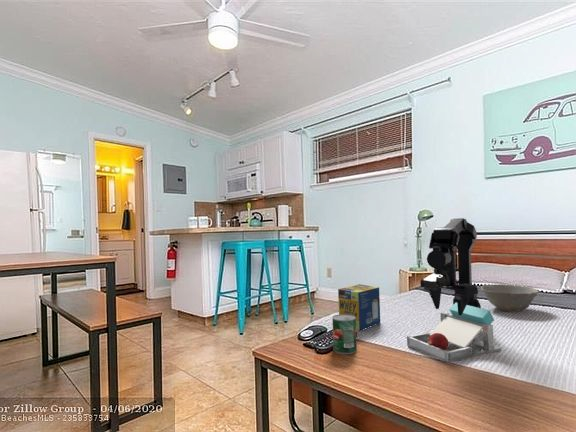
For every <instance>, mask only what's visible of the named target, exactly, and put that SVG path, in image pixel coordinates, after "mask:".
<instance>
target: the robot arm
mask: <svg viewBox="0 0 576 432" xmlns="http://www.w3.org/2000/svg"><path fill="white" fill-rule="evenodd" d="M477 234H478V233H477V230H476V228H475V225H473V224H472V223H470V222H468V220H467V219H466V218H460V217H459V218H458V217H457V218H452V219H450V222H448V223H447V224H445V226H443V227H436V228H434V229H433V230H432V232H431V236H430V239H429V240H430V241H429V245H428V248H429V249H432V250H431V251H430V252H429V253H428V254H427V257H426V262H427V264H428V266H429V267H431V268H432V269H433V273H432V274H429V275H428V276H426V277H425V278H421V280H420V283H419V284H420V288H423V290H424V291H426V292H427V293H428V294H429V297H430V298H431V300H432V304H433V305H434V308H435V310H439V309H440V305H441V297H442V289H446V290H450V291H451V290H452V291H454V295H453V296H454V297H453V299H452V306H453V305H454V304H455V303H457V306H458V314H459V315H462V314H463V312H464V309H465V307H466V305H469V306H473V307H477V308H482V306H481V303H480V301H479V299H478V294H479V290H478V289H479V288H478V287H477V285H476V284H473V282H472V281H473V280H472V279H473V278H472V276H473V275H472V249H473V248H474V246H475V244H476V240H477ZM456 249H457V258H458V260H457V265H458V267H457V266H456V252H455V251H456ZM457 272H458V280H457Z"/></svg>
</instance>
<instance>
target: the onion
mask: <svg viewBox="0 0 576 432" xmlns="http://www.w3.org/2000/svg"><path fill="white" fill-rule="evenodd" d="M427 344H430V345H432V346H435V347H437V348H440V349H442V350H445V351H447V349H448V348H449V343H448V339H447V338H446V337H445V336H444V335H443V334H440V333H434V334H432V335H431V336H430V337H429V339H428V342H427Z"/></svg>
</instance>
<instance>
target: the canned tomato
mask: <svg viewBox="0 0 576 432" xmlns="http://www.w3.org/2000/svg"><path fill="white" fill-rule="evenodd" d="M331 319H332V340H333V341H332V342H333V343H332V347H333V349H332V350H333V352H335V353H336V354H340V355H341V354H342V355H351V354H352V355H353V354H355V353H356V352H357V350H358V349H357V348H358V346H357V331H356V317H355V316H353V315H348V314H339V313H338V314H334V315H333V316H332V318H331Z"/></svg>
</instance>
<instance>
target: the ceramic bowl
mask: <svg viewBox="0 0 576 432" xmlns="http://www.w3.org/2000/svg"><path fill="white" fill-rule="evenodd" d="M480 289H481V291H482V292H483V293H484V296H485V298H486V300H487V301H488V302H489V303H490V304H491V305H493V307H495V308H496V309H498V310H500V311H502V312H508V313H512V312H515V313H517V312H522V311H525V310H526V309H528V308H529V307H530V306H531V303H532V302H533V300H534V299H535V298H536V296H537V295H538V294H539V293H540V290H539V289H537V288H535V287H530V286H524V285H516V284H515V285H513V284H486V285H482V286H480Z"/></svg>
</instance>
